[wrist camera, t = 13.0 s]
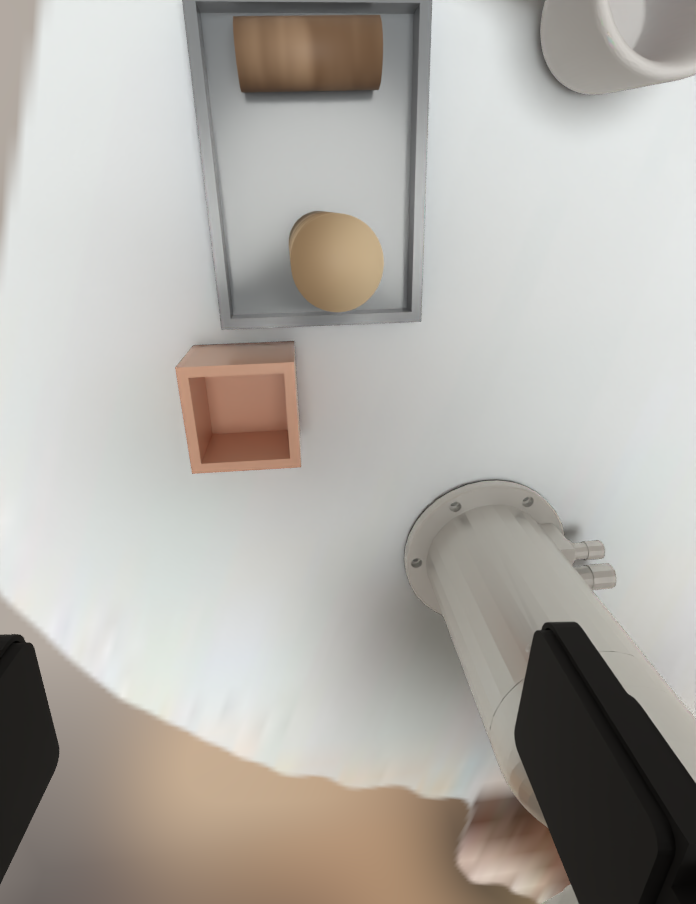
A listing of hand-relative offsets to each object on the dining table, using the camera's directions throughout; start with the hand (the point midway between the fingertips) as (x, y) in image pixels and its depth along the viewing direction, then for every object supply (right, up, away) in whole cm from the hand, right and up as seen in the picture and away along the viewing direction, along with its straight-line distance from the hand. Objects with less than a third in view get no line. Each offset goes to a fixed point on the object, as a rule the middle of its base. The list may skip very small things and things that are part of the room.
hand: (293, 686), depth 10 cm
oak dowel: (-1, +17, +21) cm, 27 cm away
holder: (-6, +8, +25) cm, 27 cm away
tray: (-1, +20, +20) cm, 29 cm away
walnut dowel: (-1, +25, +18) cm, 30 cm away
